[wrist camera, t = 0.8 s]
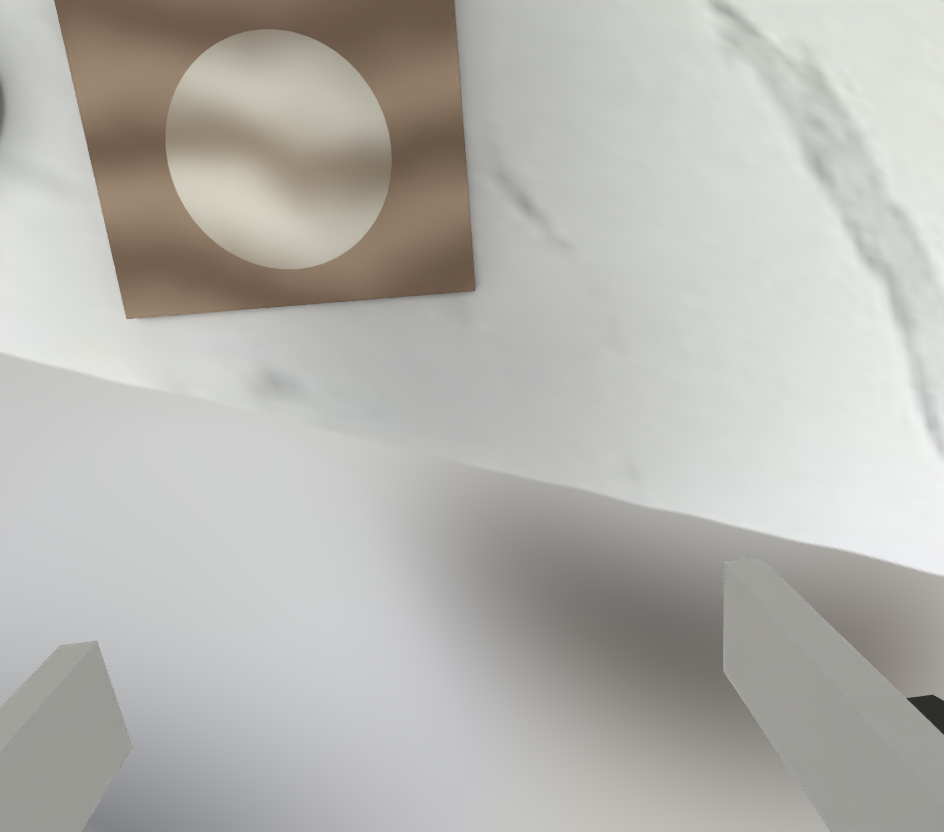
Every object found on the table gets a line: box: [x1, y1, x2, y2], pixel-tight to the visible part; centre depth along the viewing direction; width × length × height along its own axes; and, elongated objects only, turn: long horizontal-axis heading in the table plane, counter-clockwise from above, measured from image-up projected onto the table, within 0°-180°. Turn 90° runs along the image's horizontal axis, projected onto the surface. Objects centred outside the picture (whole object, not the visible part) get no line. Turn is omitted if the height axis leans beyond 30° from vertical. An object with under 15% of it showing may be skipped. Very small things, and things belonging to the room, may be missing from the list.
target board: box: [54, 0, 475, 319], centre depth 33 cm, size 16×20×1 cm
